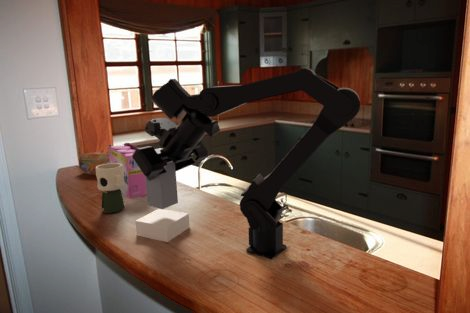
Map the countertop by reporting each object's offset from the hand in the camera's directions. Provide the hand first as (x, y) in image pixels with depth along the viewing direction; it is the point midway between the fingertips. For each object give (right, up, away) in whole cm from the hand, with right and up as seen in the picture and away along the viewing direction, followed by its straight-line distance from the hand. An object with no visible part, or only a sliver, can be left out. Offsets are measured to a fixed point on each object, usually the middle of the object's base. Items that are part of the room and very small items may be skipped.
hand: (156, 176), depth 89 cm
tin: (-34, -2, +57) cm, 67 cm away
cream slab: (+1, -14, +2) cm, 14 cm away
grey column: (+1, -7, +1) cm, 7 cm away
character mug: (-16, -11, +17) cm, 25 cm away
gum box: (-16, -6, +38) cm, 42 cm away
